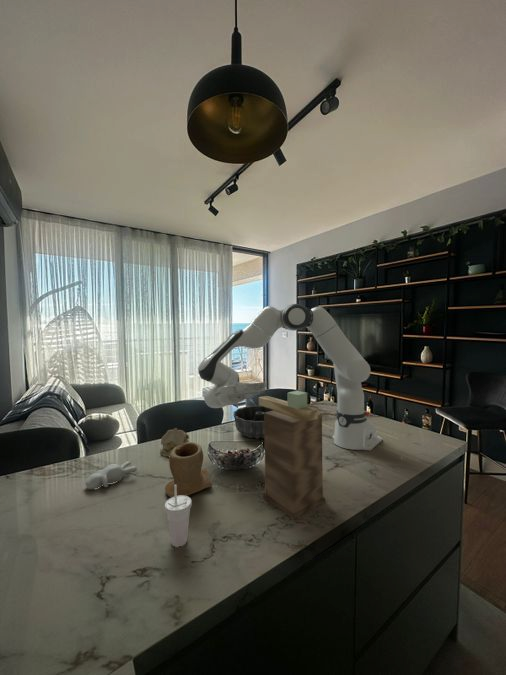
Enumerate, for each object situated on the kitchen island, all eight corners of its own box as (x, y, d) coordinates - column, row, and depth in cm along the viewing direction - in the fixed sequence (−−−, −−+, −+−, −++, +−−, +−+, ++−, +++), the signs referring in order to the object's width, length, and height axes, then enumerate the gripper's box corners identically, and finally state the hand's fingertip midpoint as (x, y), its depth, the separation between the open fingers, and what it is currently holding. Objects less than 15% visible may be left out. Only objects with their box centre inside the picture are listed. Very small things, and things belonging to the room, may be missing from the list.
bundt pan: (296, 429, 148) (296, 409, 148) (270, 447, 126) (270, 424, 126) (252, 420, 162) (251, 403, 162) (222, 436, 140) (221, 415, 140)
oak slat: (266, 403, 99) (266, 395, 99) (317, 418, 82) (317, 409, 82) (258, 404, 97) (258, 397, 97) (308, 421, 80) (308, 412, 80)
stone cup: (173, 508, 85) (172, 457, 84) (161, 489, 95) (160, 443, 94) (220, 491, 93) (219, 444, 93) (205, 475, 103) (204, 433, 103)
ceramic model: (154, 456, 120) (153, 431, 120) (167, 445, 131) (167, 423, 131) (186, 458, 117) (185, 434, 117) (197, 447, 128) (196, 424, 128)
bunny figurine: (82, 473, 99) (127, 454, 109) (84, 487, 99) (129, 467, 109) (89, 483, 92) (137, 462, 102) (92, 499, 92) (139, 476, 102)
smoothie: (168, 533, 75) (167, 478, 74) (194, 531, 75) (192, 477, 75) (163, 552, 68) (161, 493, 68) (191, 550, 69) (189, 491, 68)
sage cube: (297, 403, 88) (297, 390, 88) (307, 406, 85) (307, 392, 85) (287, 406, 86) (287, 392, 86) (297, 409, 83) (297, 395, 82)
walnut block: (293, 483, 97) (292, 405, 96) (325, 501, 87) (324, 414, 86) (263, 497, 89) (261, 412, 88) (293, 519, 79) (292, 423, 78)
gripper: (210, 386, 111) (232, 378, 102) (249, 383, 125) (272, 375, 116) (212, 403, 109) (236, 397, 100) (252, 398, 124) (276, 391, 114)
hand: (256, 385), depth 108 cm, fingers open, 8 cm apart
